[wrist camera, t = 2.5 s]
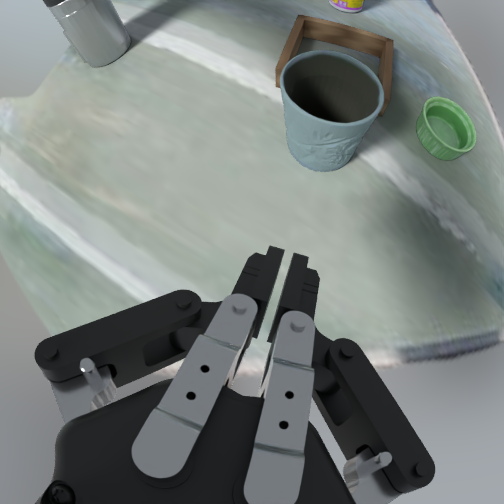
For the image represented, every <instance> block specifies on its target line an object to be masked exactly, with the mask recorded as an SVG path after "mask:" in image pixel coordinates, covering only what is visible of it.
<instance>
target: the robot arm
mask: <svg viewBox="0 0 504 504" xmlns="http://www.w3.org/2000/svg"><path fill="white" fill-rule="evenodd" d="M43 1H44V3H45V4H46V6H47V7H48V8H49V10H50V11H51V13H52V14H53V15H54V17H55V18H56V19H57V21H58V22H59V24H60V25H61V26H62V28H63V29H64V32H63V33H64V35H65V36H66V38H67V39H68V41H69V42H70V43H71V45H72V46H73V47H74V49H75V50H76V51H77V53H78V54H79V55H80V57H81V58H82V59H83V61H84V62H88V64H89V65H90V66H92V67H101V66H104V65H107V64H109V63H111V62H113V61H115V60H116V59H118V58H119V57H120V56H121V55H122V54H124V53H125V51H126V50H127V49H128V47H129V46H130V43H131V39H130V36H129V34H128V33H127V31H126V29H125V27H124V25H123V23H122V21H121V19H120V17H119V15H118V13H117V11H116V9H115V8H114V6H113V4H112V2H111V0H43ZM284 251H285V250H283V249H280V248H277V247H273V246H269V249H268V251H267V254H266V255H262V254H259V253H255V254H253V255H252V256H250V257H249V258H248V260H247V262H246V264H245V266H244V268H243V270H242V272H241V275H240V277H239V279H238V281H237V283H236V285H235V287H234V289H233V292H232V294H231V295H229V296H227V297H226V298H225V299H224V300H223V301H220V302H201V299H200V297H199V296H198V295H197V294H196V293H194V292H192V291H190V290H177V291H174V292H171V293H169V294H166V295H163V296H161V297H158V298H155V299H153V300H150V301H147V302H145V303H142V304H139V305H137V306H134V307H131V308H128V309H126V310H123V311H120V312H118V313H115V314H112V315H110V316H107V317H104V318H101V319H99V320H96V321H93V322H91V323H88V324H85V325H82V326H80V327H77V328H74V329H71V330H69V331H66V332H63V333H60V334H58V335H55V336H52V337H50V338H47V339H45V340H43V341H42V342H41V343H39V345H38V346H37V348H36V350H35V360H36V362H37V364H38V366H39V367H40V369H41V370H42V371H43V374H44V376H45V377H46V379H47V380H48V381H49V383H50V384H51V386H52V389H53V392H54V395H55V398H56V401H57V404H58V406H59V409H60V411H61V414H62V417H63V419H64V422H65V425H64V426H63V427H62V429H61V430H60V432H59V434H58V436H57V439H56V444H55V469H54V474H53V478H52V481H51V483H50V485H49V486H48V488H47V489H46V490H45V492H44V493H43V494H42V496H41V497H40V498H39V499H38V500H37V502H36V503H35V504H388V503H390V502H391V501H393V500H394V499H396V498H397V497H398V496H400V495H403V494H406V493H409V492H411V491H414V490H416V489H419V488H422V487H424V486H426V485H428V484H429V483H430V482H431V481H432V479H433V477H434V474H435V464H434V462H433V460H432V458H431V456H430V455H429V453H428V451H427V450H426V448H425V447H424V445H423V443H422V442H421V440H420V439H419V437H418V436H417V434H416V432H415V431H414V429H413V428H412V426H411V424H410V423H409V421H408V419H407V418H406V416H405V415H404V413H403V412H402V410H401V409H400V407H399V405H398V404H397V402H396V401H395V399H394V398H393V396H392V395H391V393H390V392H389V390H388V389H387V387H386V386H385V384H384V382H383V381H382V379H381V378H380V377H379V375H378V373H377V372H376V370H375V369H374V367H373V366H372V364H371V363H370V361H369V360H368V358H367V357H366V355H365V354H364V352H363V351H362V350H361V348H360V347H359V345H358V344H356V343H355V342H354V341H352V340H350V339H346V338H340V339H336V340H335V341H332V340H330V339H328V338H327V337H325V336H324V335H322V334H321V333H320V332H319V331H318V330H317V328H316V326H315V323H314V315H315V309H316V302H317V294H318V288H319V281H320V278H319V276H318V273H317V271H316V270H313V269H310V268H307V264H308V258H309V257H307V256H304V255H301V254H297V253H293V257H292V260H291V263H290V266H289V269H288V273H287V276H286V279H285V282H284V286H283V289H282V293H281V296H280V299H279V303H278V306H277V310H276V313H275V317H274V320H273V323H272V327H271V330H270V333H269V337H268V340H267V342H270V343H272V344H271V347H270V350H269V353H268V356H267V359H266V363H265V367H264V371H263V375H262V380H261V384H260V388H259V391H258V395H257V397H250V396H242V395H240V394H238V393H237V392H235V391H233V390H232V389H231V386H232V384H233V381H234V379H235V377H236V374H237V372H238V370H239V367H240V365H241V363H242V360H243V358H244V356H245V353H246V350H247V348H248V347H249V345H250V342H251V340H252V337H253V338H257V337H258V334H259V331H260V328H261V325H262V322H263V319H264V316H265V313H266V310H267V307H268V304H269V301H270V298H271V295H272V292H273V288H274V285H275V282H276V279H277V275H278V272H279V268H280V265H281V261H282V258H283V254H284ZM184 358H185V360H184V362H183V363H182V365H181V367H180V369H179V370H178V372H177V374H176V376H175V377H174V378H173V379H168V380H164V381H161V382H158V383H156V384H154V385H152V386H150V387H147V388H145V389H143V390H141V391H139V392H136V393H134V394H132V395H130V396H127V397H125V398H123V399H120V400H118V401H116V402H113V403H111V404H109V405H106V404H107V403H109V402H111V401H112V400H113V399H114V397H115V395H116V390H117V388H118V387H121V386H123V385H125V384H128V383H130V382H132V381H135V380H137V379H139V378H142V377H144V376H146V375H149V374H151V373H153V372H155V371H158V370H160V369H162V368H164V367H166V366H169V365H171V364H173V363H175V362H177V361H180V360H182V359H184ZM311 398H313V400H314V401H315V403H316V405H317V407H318V409H319V410H320V412H321V414H322V416H323V418H324V420H325V422H326V423H327V425H328V427H329V429H330V430H331V432H332V434H333V436H334V438H335V440H336V442H337V443H338V445H339V447H340V449H341V451H342V452H343V454H344V456H345V458H346V460H347V462H346V463H345V465H344V469H343V476H344V479H345V482H344V480H343V478H342V477H341V474H340V473H339V471H338V469H337V467H336V465H335V463H334V461H333V460H332V458H331V456H330V454H329V452H328V450H327V448H326V447H325V444H324V443H323V441H322V439H321V437H320V435H319V434H318V431H317V430H316V428H315V427H314V426H313V425H312V424H311V423H310V421H308V419H309V413H310V405H311ZM105 405H106V406H105ZM103 406H104V407H103ZM345 483H346V484H345Z"/></svg>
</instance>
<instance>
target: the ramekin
mask: <svg viewBox="0 0 504 504" xmlns="http://www.w3.org/2000/svg"><path fill="white" fill-rule="evenodd" d="M416 131H417V135H418V137H419V140H420V141H421V143H422V145H423V146H424V147H425V148H426V150H427V151H428V152H429V153H431V154H432V155H433V156H435V157H437V158H439V159H442V160H454V159H456V158H457V157H459V156H460V155H462V154H463V153H465V152H468V151H470V150H471V149H472V148H473V147H474V145H475V143H476V131H475V128H474V125H473V123H472V121H471V119H470V117H469V116H468V115H467V113H466V112H465V111H464V110H463V109H462V108H461V107H460V106H459V105H457V104H456V103H454V102H453V101H451V100H449V99H447V98H444V97H431V98H429V99H428V100H427V101H426V102H425V104H424V106H423V109H422V112H421V114H420V116H419V118H418V120H417V123H416Z"/></svg>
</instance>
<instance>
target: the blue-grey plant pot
mask: <svg viewBox="0 0 504 504" xmlns="http://www.w3.org/2000/svg"><path fill="white" fill-rule="evenodd" d="M280 87H281V93H282V100H283V104H284V111H285V113H284V117H285V125H286V128H287V132H286V134H287V142H288V147H289V150H290V152H291V154H292V155H293V157H294V158H295V159H296V160H297V161H298V162H299V163H300V164H301V165H302V166H304V167H306V168H308V169H311V170H313V171H320V172H327V171H333V170H336V169H339V168H341V167H342V166H344V165H345V164H346V163H347V162H348V161H349V160H350V158H351V157H352V155H353V153H354V152H355V149H356V148H357V146H358V145H359V144H360V142H361V141H362V138H363V135H364V134H365V133H366V131H368V129H369V128H370V126H371V124H372V123H373V121H374V120H375V118H376V117H377V115H378V114H379V112H380V111H381V109H382V107H383V104H384V91H383V87H382V85H381V83H380V81H379V79H378V77H377V76H376V75H375V73H374V72H373V71H372V70H371V69H370V68H369V67H367V66H366V65H365V64H363V63H362V62H360V61H359V60H357V59H355V58H354V57H352V56H349V55H347V54H344V53H341V52H336V51H331V50H314V51H308V52H305V53H302V54H300V55H297V56H296V57H294V58H292V59H291V60H290V61H289V62H288V63H287V64H286V65H285V67H284V68H283V70H282V72H281V76H280Z"/></svg>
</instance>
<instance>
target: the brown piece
mask: <svg viewBox="0 0 504 504" xmlns="http://www.w3.org/2000/svg"><path fill="white" fill-rule="evenodd" d="M303 37H306V38H311V39H316V40H320V41H324V42H328V43H332V44H336V45H340V46H344V47H347V48H351V49H354V50H357V51H361V52H364V53H367V54H370V55H373V56H376V57H379V58H380V64H379V74H378V79H379V81H380V83H381V85H382V87H383V91H384V104H383V107H382V109H381V111H380V112H379V114H378V115H379V116H382V115H383V113H384V111H385V109H386V107H387V105H388V103H389V102H390V96H391V83H392V65H393V40H391V39H389V38H386V37H383V36H380V35H377V34H374V33H371V32H368V31H364V30H361V29H358V28H354V27H351V26H347V25H343V24H339V23H335V22H331V21H327V20H323V19H318V18H314V17H309V16H304V15H298V17H297V19H296V21H295V23H294V26H293V28H292V30H291V33H290V35H289V37H288V40H287V42H286V45H285V47H284V49H283V52H282V54H281V57H280V59H279V61H278V64H277V66H276V87H279V88H281V87H280V76H281V72H282V70H283V68H284V67H285V65H286V64H287V63H288V62H289V61H290V60H291V59H292V58H294V57H296V55H297V52H298V49H299V46H300V44H301V41H302V38H303Z"/></svg>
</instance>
